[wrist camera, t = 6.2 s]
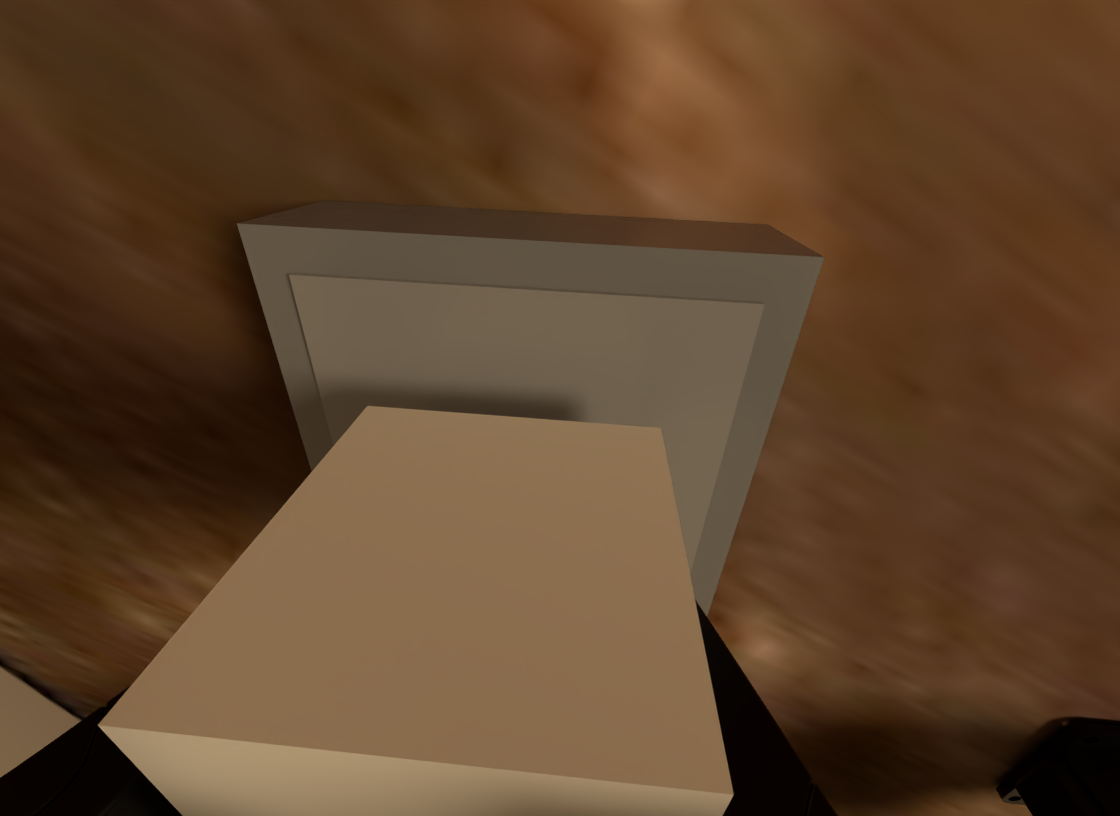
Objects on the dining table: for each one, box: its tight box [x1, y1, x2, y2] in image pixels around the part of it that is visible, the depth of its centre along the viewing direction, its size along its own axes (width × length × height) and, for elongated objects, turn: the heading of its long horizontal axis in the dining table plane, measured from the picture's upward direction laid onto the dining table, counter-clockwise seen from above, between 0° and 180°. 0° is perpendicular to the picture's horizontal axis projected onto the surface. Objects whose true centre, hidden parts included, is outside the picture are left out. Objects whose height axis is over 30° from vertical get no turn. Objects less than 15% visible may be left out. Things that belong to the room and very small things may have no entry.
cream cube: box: [98, 406, 734, 816], centre depth 7 cm, size 5×5×5 cm
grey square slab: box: [237, 201, 824, 616], centre depth 12 cm, size 10×10×3 cm
